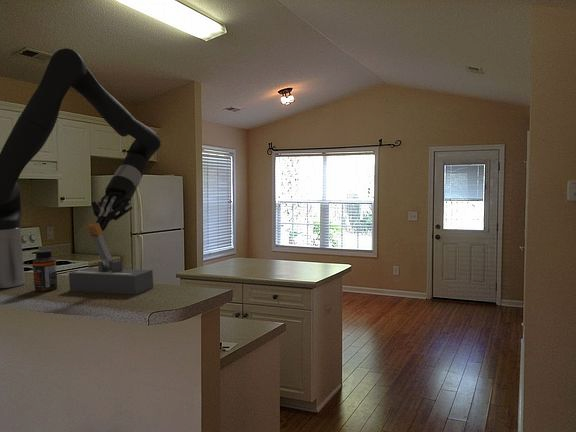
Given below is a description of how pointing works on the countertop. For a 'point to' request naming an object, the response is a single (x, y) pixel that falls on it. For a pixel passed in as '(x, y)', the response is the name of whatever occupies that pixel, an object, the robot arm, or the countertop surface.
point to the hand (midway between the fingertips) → (98, 229)
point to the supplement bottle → (44, 271)
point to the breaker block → (111, 279)
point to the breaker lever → (100, 244)
